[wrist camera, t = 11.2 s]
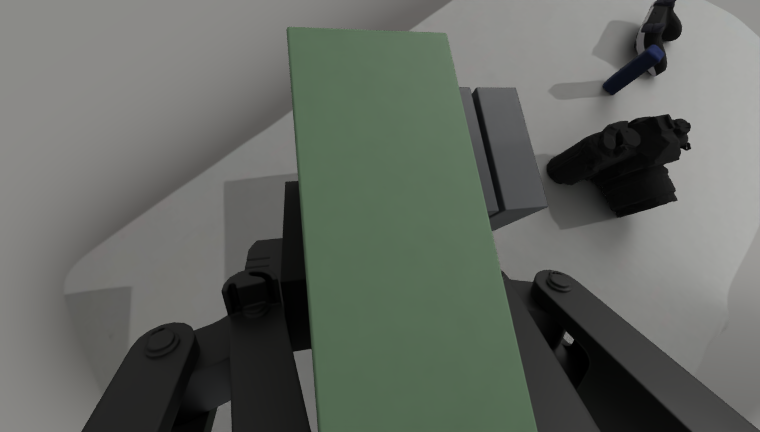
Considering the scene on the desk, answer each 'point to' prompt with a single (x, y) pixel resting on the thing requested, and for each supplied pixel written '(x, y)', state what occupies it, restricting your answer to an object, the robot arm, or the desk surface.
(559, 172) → the film camera
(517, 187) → the grey book
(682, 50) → the desk surface
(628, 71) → the blue rectangular bar
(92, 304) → the desk surface
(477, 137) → the grey book
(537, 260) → the desk surface
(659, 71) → the gaming controller
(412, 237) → the sage book
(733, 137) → the desk surface
